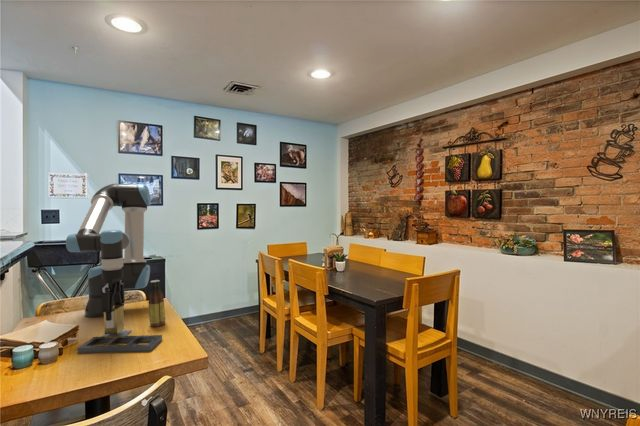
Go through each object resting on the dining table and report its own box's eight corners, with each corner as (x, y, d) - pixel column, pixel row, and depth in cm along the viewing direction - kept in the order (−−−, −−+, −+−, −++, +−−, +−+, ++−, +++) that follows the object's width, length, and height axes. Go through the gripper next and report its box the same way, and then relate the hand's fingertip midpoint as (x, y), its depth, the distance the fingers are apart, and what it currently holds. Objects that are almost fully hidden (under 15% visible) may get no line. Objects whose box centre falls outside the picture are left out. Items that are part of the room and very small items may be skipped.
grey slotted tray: (94, 341, 132) (94, 336, 132) (162, 340, 134) (162, 335, 134) (77, 353, 122) (77, 348, 122) (150, 351, 124) (150, 346, 124)
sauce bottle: (162, 321, 155) (161, 278, 154) (167, 324, 150) (166, 280, 149) (147, 324, 150) (145, 280, 149) (151, 328, 146) (150, 283, 145)
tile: (109, 332, 142) (109, 330, 142) (131, 331, 142) (131, 330, 142) (96, 341, 133) (96, 339, 133) (119, 340, 133) (119, 339, 133)
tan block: (111, 329, 140) (110, 305, 139) (123, 329, 140) (123, 305, 140) (104, 334, 135) (103, 309, 134) (117, 333, 135) (116, 309, 135)
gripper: (115, 264, 145) (116, 317, 146) (88, 273, 127) (90, 334, 128) (133, 263, 146) (134, 317, 147) (109, 273, 128) (111, 333, 129)
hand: (114, 324), depth 137 cm, fingers closed on tan block, 5 cm apart
